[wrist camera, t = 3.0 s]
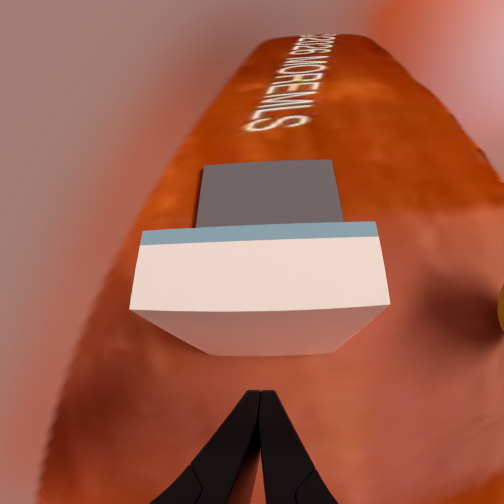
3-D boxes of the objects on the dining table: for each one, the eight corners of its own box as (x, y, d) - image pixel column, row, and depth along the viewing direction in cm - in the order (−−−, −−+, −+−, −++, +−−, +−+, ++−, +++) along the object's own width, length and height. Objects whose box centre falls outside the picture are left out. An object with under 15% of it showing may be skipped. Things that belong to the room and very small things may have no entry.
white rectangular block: (331, 353, 16) (390, 304, 7) (210, 355, 16) (129, 309, 8) (329, 312, 17) (375, 221, 8) (212, 314, 18) (143, 230, 9)
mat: (352, 298, 17) (353, 296, 17) (189, 303, 18) (188, 301, 18) (330, 163, 22) (331, 159, 22) (205, 169, 23) (204, 165, 23)
